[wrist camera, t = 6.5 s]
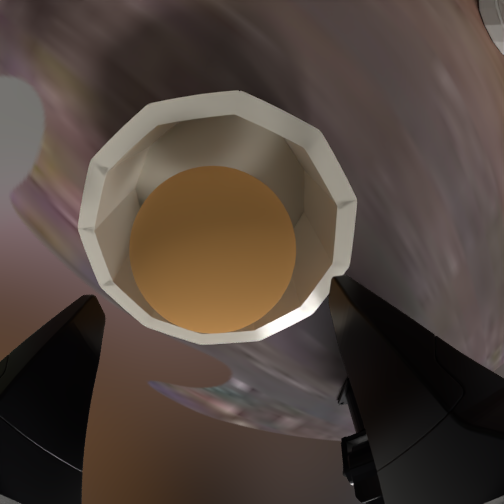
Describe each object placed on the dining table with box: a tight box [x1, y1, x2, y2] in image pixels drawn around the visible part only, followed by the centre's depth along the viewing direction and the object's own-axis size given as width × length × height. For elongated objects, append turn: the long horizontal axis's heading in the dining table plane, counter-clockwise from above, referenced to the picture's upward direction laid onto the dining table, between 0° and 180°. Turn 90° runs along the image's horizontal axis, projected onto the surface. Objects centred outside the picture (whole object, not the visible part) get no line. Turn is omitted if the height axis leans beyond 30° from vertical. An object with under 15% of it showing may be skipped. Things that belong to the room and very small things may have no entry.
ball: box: [129, 166, 296, 334], centre depth 10 cm, size 6×6×6 cm
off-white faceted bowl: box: [78, 90, 357, 345], centre depth 13 cm, size 11×11×6 cm
